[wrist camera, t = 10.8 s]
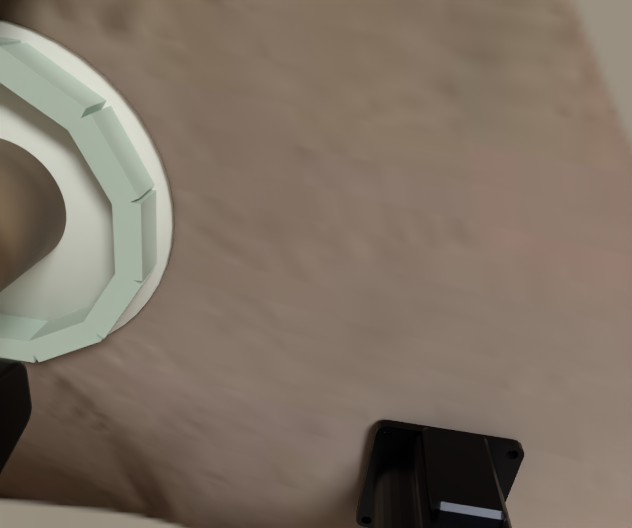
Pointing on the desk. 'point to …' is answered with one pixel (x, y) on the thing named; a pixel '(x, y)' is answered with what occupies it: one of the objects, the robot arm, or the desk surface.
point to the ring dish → (81, 200)
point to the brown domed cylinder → (26, 212)
